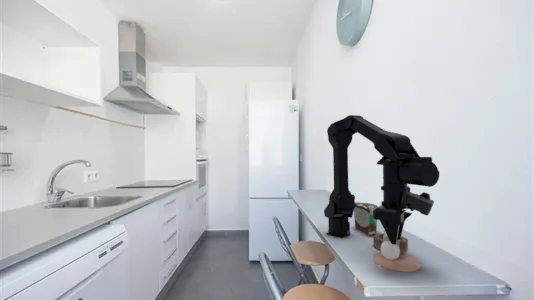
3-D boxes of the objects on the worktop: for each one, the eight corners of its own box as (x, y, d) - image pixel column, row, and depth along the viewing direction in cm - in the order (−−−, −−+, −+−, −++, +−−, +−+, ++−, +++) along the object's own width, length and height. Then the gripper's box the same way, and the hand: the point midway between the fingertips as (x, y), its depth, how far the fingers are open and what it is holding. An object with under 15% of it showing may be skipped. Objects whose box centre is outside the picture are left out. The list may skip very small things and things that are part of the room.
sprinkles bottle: (404, 228, 76) (403, 253, 65) (394, 237, 79) (391, 263, 67) (391, 217, 78) (388, 241, 66) (381, 227, 80) (376, 251, 68)
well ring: (370, 248, 78) (370, 238, 78) (379, 240, 85) (379, 231, 85) (403, 255, 72) (403, 244, 72) (409, 246, 79) (409, 236, 79)
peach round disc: (367, 264, 66) (367, 261, 66) (380, 251, 75) (380, 249, 75) (416, 277, 59) (416, 273, 60) (423, 261, 68) (423, 258, 68)
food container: (387, 237, 88) (387, 208, 89) (371, 238, 87) (370, 208, 88) (367, 227, 100) (367, 201, 101) (353, 228, 99) (352, 202, 100)
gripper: (425, 188, 55) (426, 261, 55) (435, 181, 70) (436, 238, 69) (371, 184, 62) (372, 249, 62) (391, 179, 77) (392, 231, 76)
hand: (395, 241), depth 67 cm, fingers open, 4 cm apart
